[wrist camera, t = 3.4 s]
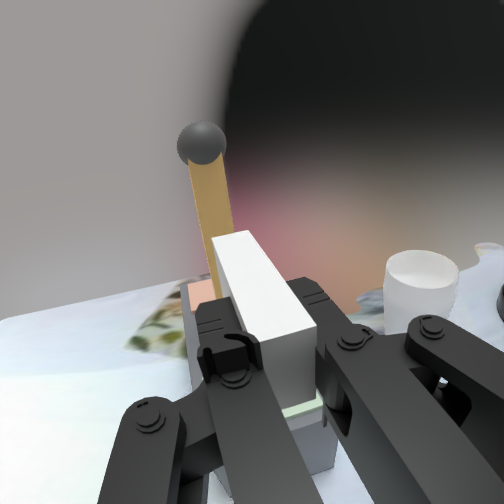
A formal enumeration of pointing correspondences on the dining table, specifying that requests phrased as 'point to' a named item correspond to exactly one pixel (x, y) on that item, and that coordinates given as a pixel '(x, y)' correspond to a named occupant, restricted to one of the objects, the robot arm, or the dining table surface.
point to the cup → (417, 288)
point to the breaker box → (297, 417)
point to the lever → (208, 186)
